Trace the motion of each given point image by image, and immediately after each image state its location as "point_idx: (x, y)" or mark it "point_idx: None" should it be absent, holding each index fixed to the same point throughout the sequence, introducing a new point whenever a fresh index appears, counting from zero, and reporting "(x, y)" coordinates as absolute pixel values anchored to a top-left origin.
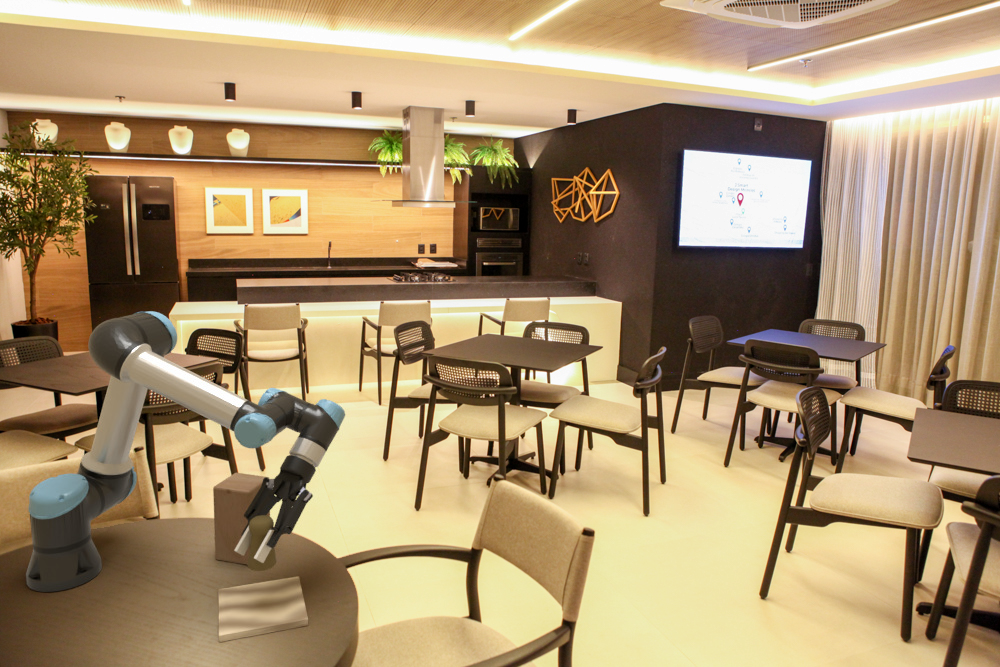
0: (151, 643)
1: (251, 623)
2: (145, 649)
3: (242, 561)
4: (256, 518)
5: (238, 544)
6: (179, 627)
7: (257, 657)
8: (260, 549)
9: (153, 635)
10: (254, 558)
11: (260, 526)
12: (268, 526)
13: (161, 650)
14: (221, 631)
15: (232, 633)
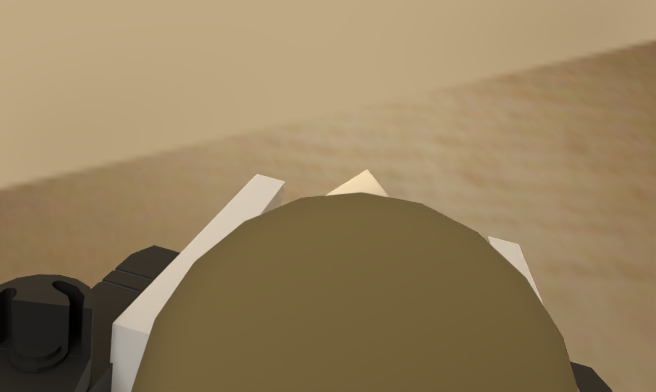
0: (564, 125)
1: None
2: (557, 100)
3: None
4: (454, 346)
5: (520, 271)
6: (551, 215)
7: (197, 148)
8: (238, 204)
9: (593, 158)
10: (282, 193)
11: (267, 215)
12: (161, 311)
13: (508, 107)
14: (373, 191)
15: (329, 193)
